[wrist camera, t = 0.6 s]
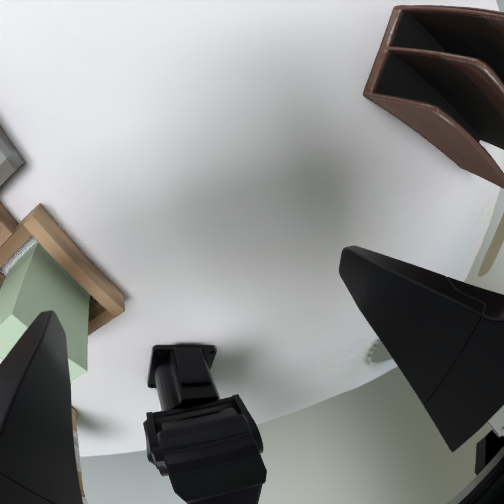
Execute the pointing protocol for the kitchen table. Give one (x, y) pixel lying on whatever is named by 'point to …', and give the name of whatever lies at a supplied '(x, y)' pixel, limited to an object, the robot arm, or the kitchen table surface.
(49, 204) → the kitchen table surface
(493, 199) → the kitchen table surface
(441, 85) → the letter holder
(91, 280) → the joined double square frame
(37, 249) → the sage peg
